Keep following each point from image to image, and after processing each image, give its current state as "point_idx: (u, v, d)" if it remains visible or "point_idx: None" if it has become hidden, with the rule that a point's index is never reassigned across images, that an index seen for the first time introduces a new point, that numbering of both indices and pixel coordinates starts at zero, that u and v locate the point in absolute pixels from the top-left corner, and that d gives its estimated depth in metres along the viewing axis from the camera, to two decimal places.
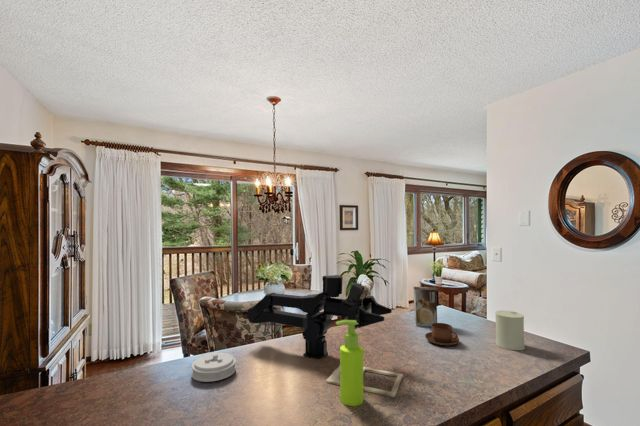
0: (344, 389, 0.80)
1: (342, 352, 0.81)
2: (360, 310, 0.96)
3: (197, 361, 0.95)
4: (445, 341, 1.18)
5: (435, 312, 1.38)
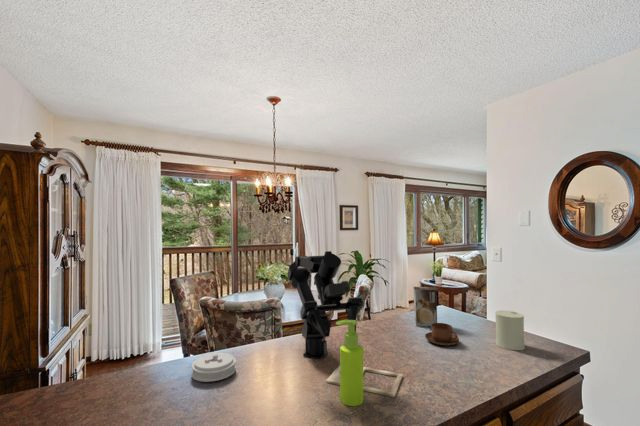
0: (344, 389, 0.80)
1: (342, 352, 0.81)
2: (311, 312, 0.91)
3: (197, 361, 0.95)
4: (445, 341, 1.18)
5: (435, 312, 1.38)
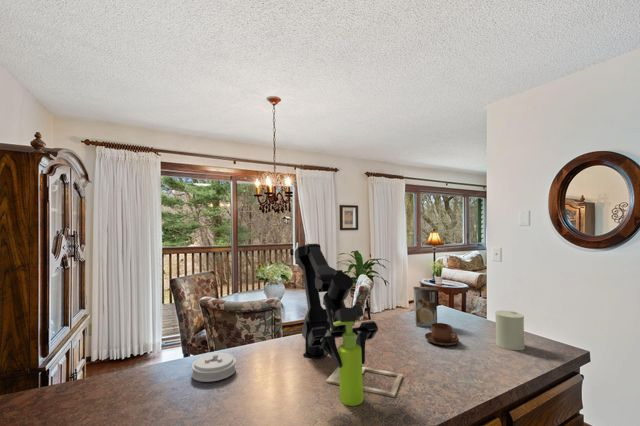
0: (343, 389, 0.80)
1: (340, 352, 0.80)
2: (325, 339, 0.82)
3: (197, 361, 0.95)
4: (445, 341, 1.18)
5: (435, 312, 1.38)
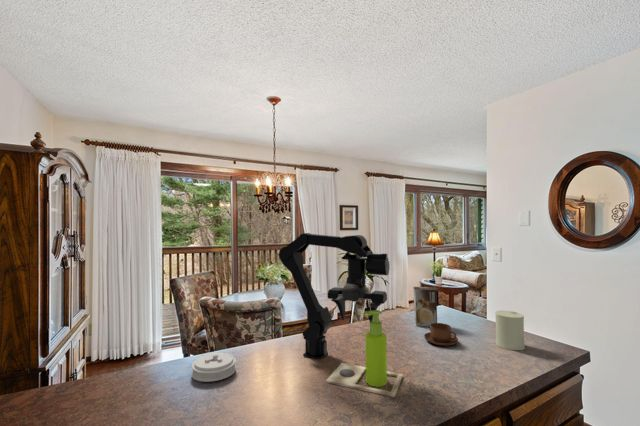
0: (374, 372, 0.88)
1: (371, 340, 0.89)
2: None
3: (197, 361, 0.95)
4: (444, 341, 1.18)
5: (435, 312, 1.38)
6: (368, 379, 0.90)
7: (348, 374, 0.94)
